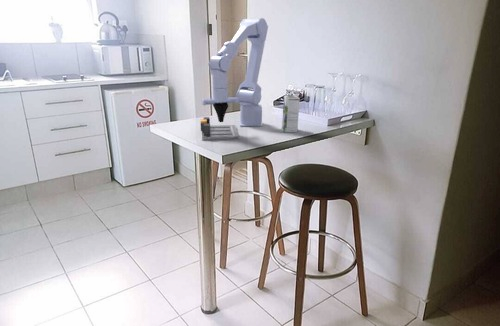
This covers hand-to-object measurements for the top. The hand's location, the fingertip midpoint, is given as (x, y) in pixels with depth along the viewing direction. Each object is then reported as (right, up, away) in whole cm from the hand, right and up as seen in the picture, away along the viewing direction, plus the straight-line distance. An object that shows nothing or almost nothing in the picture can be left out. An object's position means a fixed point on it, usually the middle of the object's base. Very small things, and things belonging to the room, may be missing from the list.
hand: (220, 121), depth 146 cm
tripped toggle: (-7, -4, -2) cm, 8 cm away
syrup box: (+29, -3, +6) cm, 29 cm away
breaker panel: (0, -5, 0) cm, 5 cm away
